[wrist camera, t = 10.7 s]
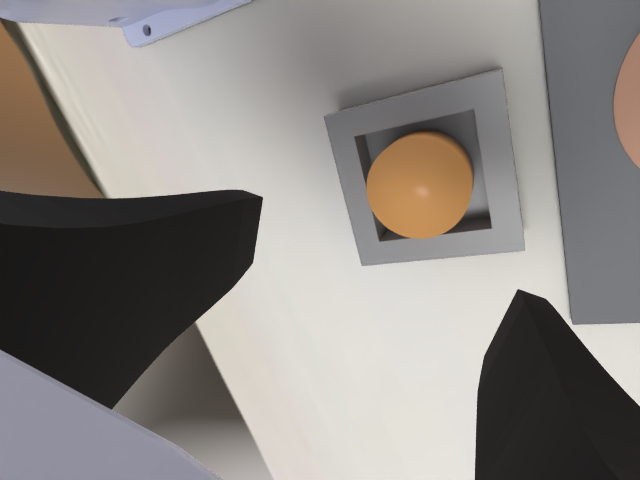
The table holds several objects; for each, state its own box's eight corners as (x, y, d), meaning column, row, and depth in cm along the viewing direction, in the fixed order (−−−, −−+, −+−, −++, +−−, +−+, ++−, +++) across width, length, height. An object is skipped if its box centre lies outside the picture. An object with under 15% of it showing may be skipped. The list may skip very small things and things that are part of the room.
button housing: (372, 249, 22) (361, 266, 21) (339, 110, 20) (323, 116, 19) (523, 232, 19) (525, 250, 18) (502, 67, 17) (501, 70, 16)
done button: (389, 227, 20) (378, 243, 18) (369, 141, 19) (356, 150, 17) (481, 214, 18) (478, 232, 17) (466, 119, 17) (461, 128, 16)
